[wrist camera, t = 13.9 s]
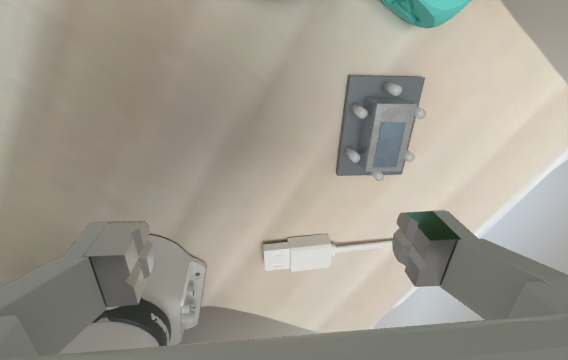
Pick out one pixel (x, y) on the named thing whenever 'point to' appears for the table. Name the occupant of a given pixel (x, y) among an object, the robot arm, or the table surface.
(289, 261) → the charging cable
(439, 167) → the table surface
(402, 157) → the block
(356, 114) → the peg board
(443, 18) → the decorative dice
